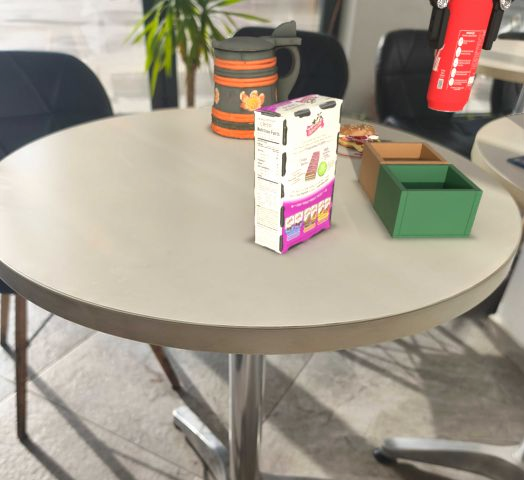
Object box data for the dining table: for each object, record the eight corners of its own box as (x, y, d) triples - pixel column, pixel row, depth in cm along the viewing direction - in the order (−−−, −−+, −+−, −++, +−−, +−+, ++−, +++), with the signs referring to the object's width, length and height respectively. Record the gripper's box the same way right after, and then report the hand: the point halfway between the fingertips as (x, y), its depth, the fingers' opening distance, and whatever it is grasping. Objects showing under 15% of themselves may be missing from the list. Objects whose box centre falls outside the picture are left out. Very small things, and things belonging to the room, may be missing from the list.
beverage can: (451, 114, 61) (480, -4, 54) (416, 106, 64) (439, -7, 57) (473, 109, 64) (504, -5, 57) (439, 101, 67) (463, -8, 60)
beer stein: (280, 118, 116) (284, 16, 104) (308, 135, 106) (317, 23, 93) (202, 124, 110) (197, 16, 98) (224, 142, 100) (222, 24, 87)
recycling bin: (440, 209, 75) (452, 163, 71) (468, 240, 67) (483, 191, 63) (372, 209, 74) (380, 163, 70) (391, 241, 66) (401, 191, 62)
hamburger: (309, 147, 98) (311, 115, 95) (352, 135, 106) (356, 105, 102) (366, 165, 91) (371, 130, 87) (408, 150, 98) (415, 118, 95)
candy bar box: (302, 218, 71) (312, 92, 61) (331, 228, 69) (346, 99, 59) (250, 243, 64) (252, 106, 54) (280, 256, 62) (287, 115, 52)
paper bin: (416, 184, 83) (426, 142, 79) (437, 207, 76) (449, 162, 71) (358, 184, 83) (364, 141, 79) (372, 208, 75) (380, 162, 71)
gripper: (571, -155, 52) (513, 45, 64) (412, -162, 51) (382, 42, 62) (614, -169, 46) (542, 54, 58) (437, -178, 45) (398, 51, 57)
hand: (459, 46), depth 60 cm, fingers closed on beverage can, 5 cm apart
